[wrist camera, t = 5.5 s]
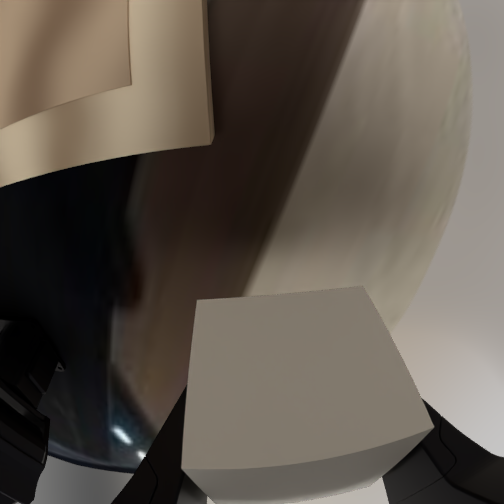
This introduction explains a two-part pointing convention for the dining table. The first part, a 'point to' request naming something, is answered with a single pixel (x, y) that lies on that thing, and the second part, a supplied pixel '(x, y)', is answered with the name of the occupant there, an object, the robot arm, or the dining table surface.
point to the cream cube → (295, 398)
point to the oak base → (100, 81)
